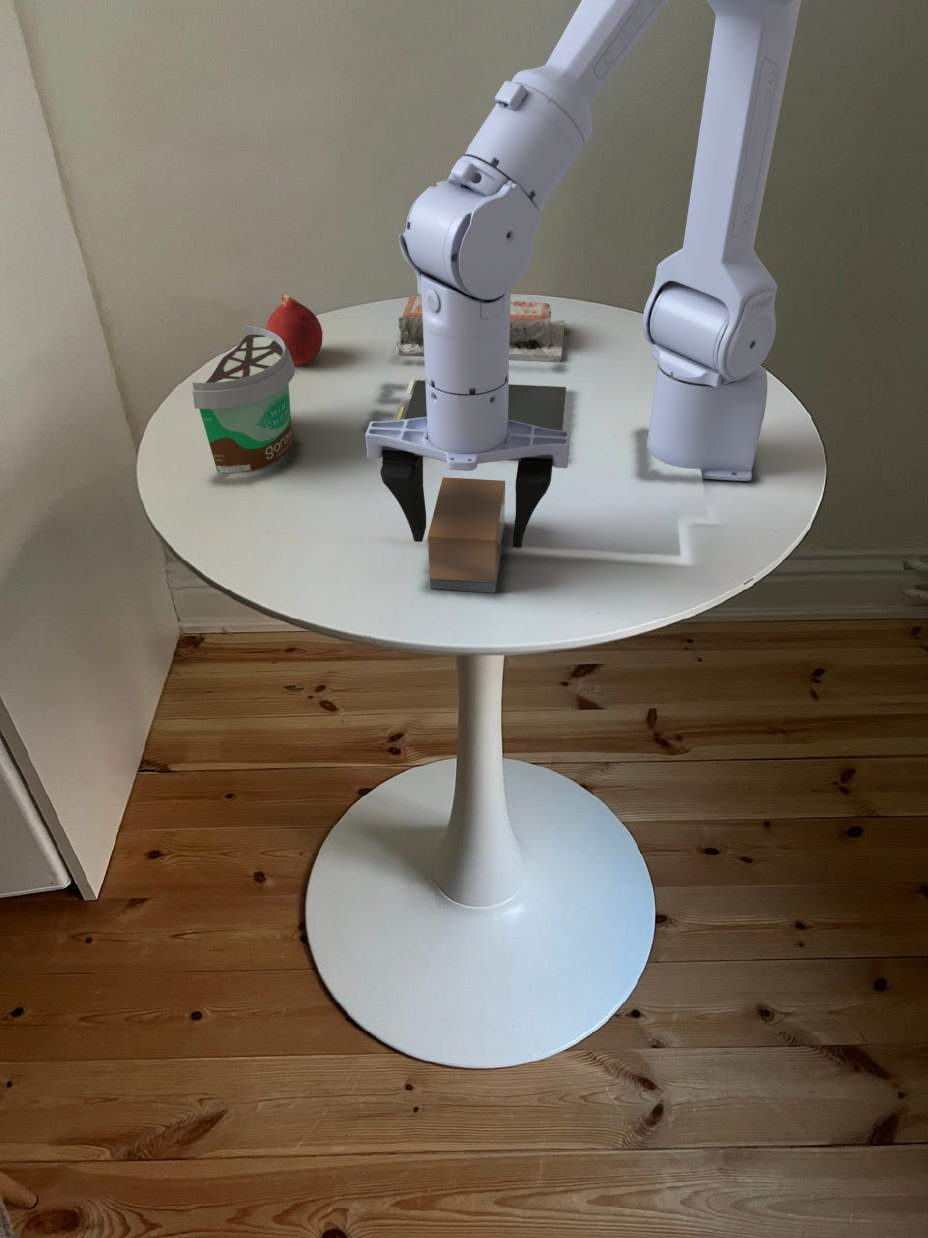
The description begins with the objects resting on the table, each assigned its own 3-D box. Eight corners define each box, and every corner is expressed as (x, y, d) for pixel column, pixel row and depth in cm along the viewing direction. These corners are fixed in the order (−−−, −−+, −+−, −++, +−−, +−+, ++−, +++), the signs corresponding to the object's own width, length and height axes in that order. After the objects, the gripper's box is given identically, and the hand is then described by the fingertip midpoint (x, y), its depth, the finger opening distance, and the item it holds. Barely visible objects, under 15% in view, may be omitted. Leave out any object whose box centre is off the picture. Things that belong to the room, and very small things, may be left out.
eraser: (504, 531, 76) (505, 480, 72) (495, 593, 70) (495, 540, 66) (444, 528, 76) (442, 476, 73) (430, 589, 70) (427, 536, 67)
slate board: (569, 393, 94) (569, 384, 93) (564, 461, 84) (565, 451, 83) (414, 386, 95) (413, 377, 94) (391, 452, 85) (391, 442, 85)
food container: (279, 497, 80) (261, 392, 73) (213, 489, 81) (189, 385, 74) (323, 426, 89) (311, 327, 82) (263, 421, 90) (246, 322, 83)
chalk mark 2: (416, 382, 94) (415, 379, 94) (411, 396, 92) (410, 392, 92) (388, 387, 95) (387, 383, 95) (383, 401, 93) (382, 397, 93)
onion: (313, 351, 102) (303, 279, 96) (335, 371, 98) (326, 298, 93) (263, 364, 99) (251, 291, 94) (284, 385, 96) (272, 310, 90)
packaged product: (391, 320, 96) (406, 284, 103) (394, 363, 99) (408, 325, 107) (564, 326, 94) (567, 289, 102) (561, 370, 97) (564, 331, 105)
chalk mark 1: (405, 409, 90) (404, 405, 90) (400, 424, 88) (399, 421, 88) (376, 413, 91) (375, 410, 91) (371, 429, 89) (369, 425, 88)
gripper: (350, 398, 60) (367, 562, 69) (572, 409, 59) (559, 575, 68) (371, 351, 66) (384, 509, 75) (575, 360, 64) (563, 519, 73)
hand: (468, 537), depth 72 cm, fingers open, 7 cm apart
